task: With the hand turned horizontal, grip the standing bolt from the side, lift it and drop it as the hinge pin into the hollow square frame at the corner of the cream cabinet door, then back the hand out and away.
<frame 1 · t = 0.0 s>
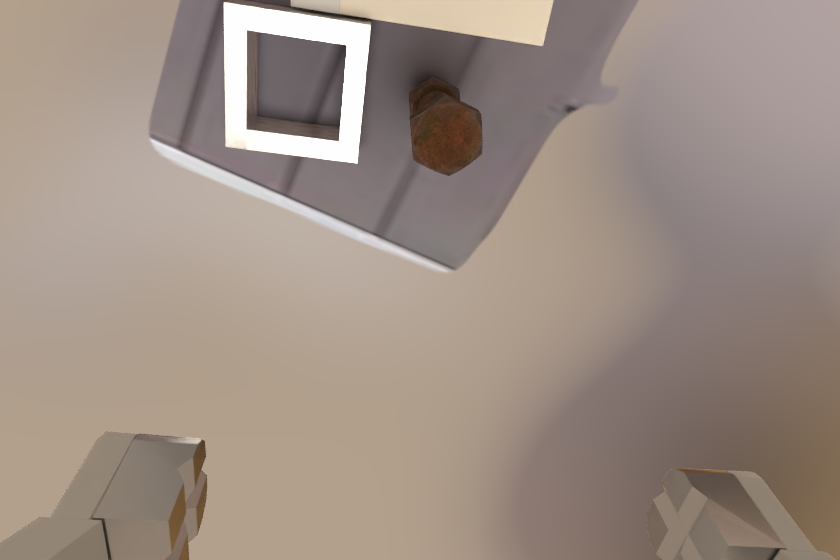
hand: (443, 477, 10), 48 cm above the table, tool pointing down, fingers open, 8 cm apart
hollow square frame: (302, 78, 52), on the table
bolt: (430, 96, 54), on the table
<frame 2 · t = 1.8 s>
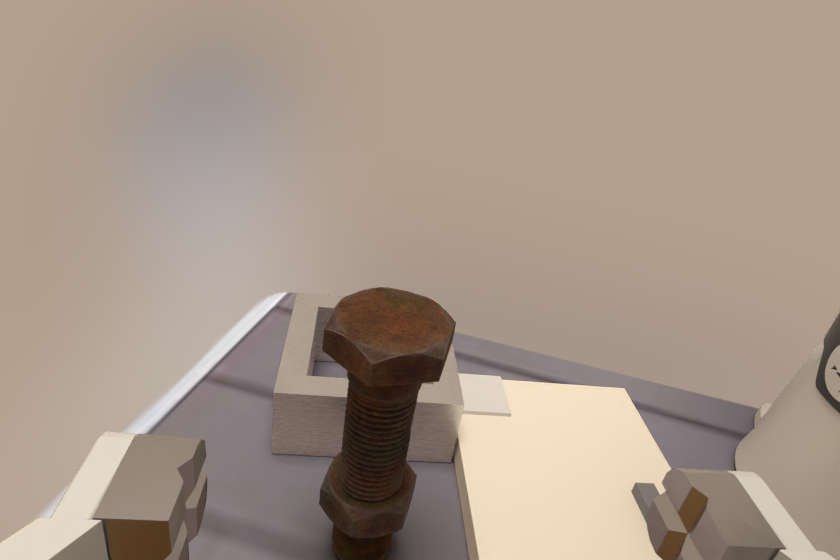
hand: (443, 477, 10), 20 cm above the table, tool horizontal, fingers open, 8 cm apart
hollow square frame: (364, 398, 41), on the table
cabinet door: (575, 522, 34), on the table
bolt: (360, 548, 31), on the table
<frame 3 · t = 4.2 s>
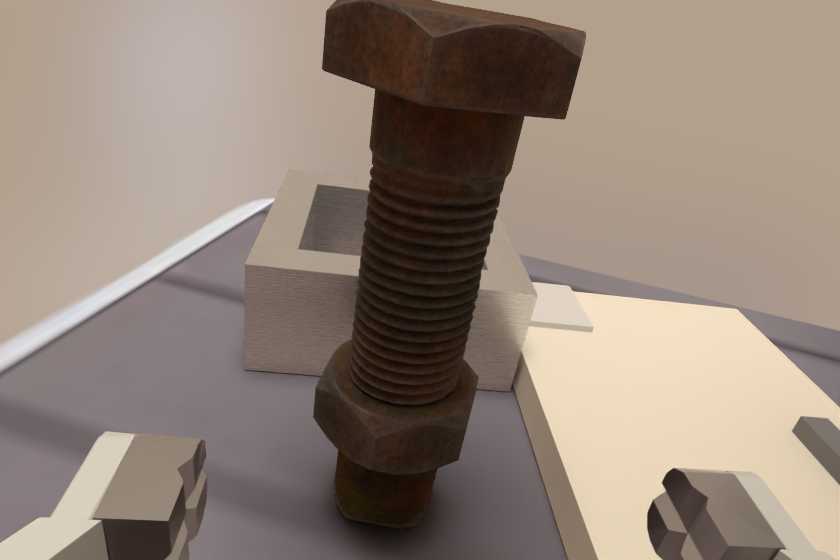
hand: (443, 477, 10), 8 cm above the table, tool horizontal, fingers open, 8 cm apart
hollow square frame: (380, 310, 29), on the table
cabinet door: (708, 477, 22), on the table
bolt: (379, 504, 19), on the table
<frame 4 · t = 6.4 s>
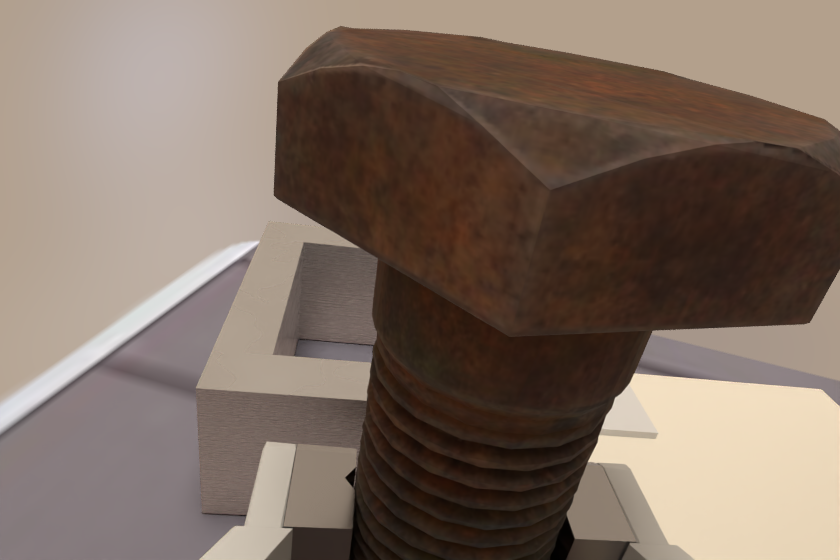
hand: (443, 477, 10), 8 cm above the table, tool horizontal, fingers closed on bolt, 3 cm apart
hollow square frame: (384, 402, 23), on the table
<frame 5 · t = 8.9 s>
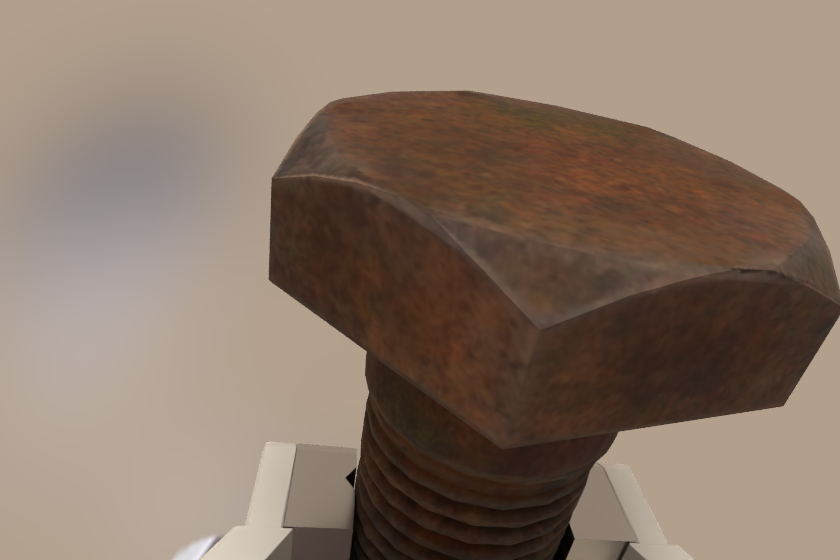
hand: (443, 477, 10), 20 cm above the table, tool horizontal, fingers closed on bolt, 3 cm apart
when the fingers open (9 cm above the table, at t = 11.5 s): bolt stays where it is, resting in hollow square frame.
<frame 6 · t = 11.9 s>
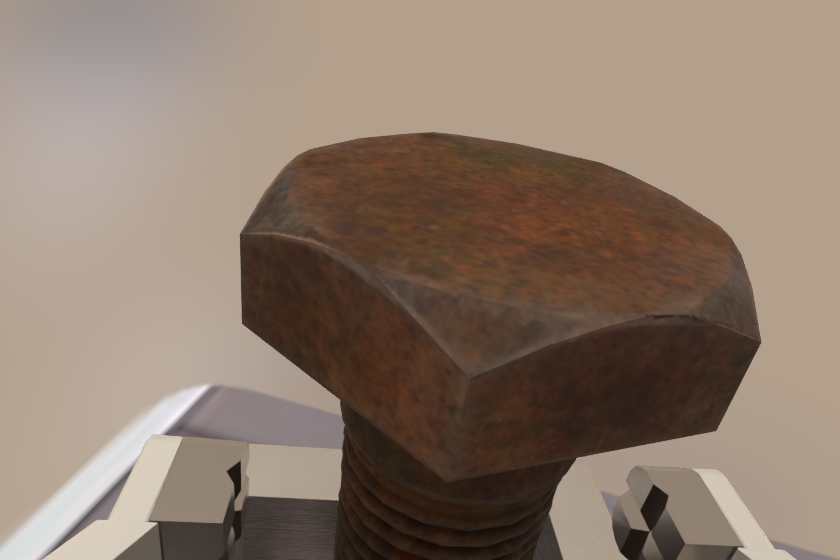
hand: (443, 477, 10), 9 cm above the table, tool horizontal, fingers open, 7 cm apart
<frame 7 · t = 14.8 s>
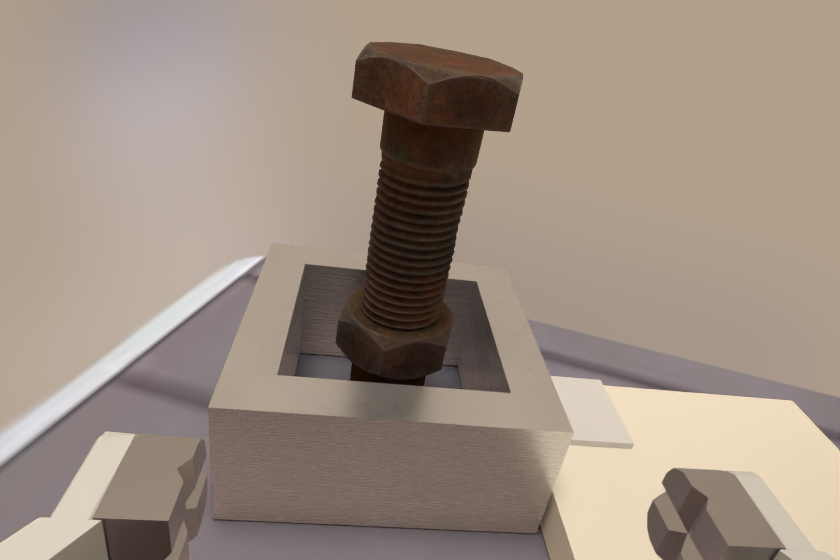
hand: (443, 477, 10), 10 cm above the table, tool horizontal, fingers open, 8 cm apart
hollow square frame: (380, 414, 25), on the table
bolt: (381, 414, 25), resting in hollow square frame
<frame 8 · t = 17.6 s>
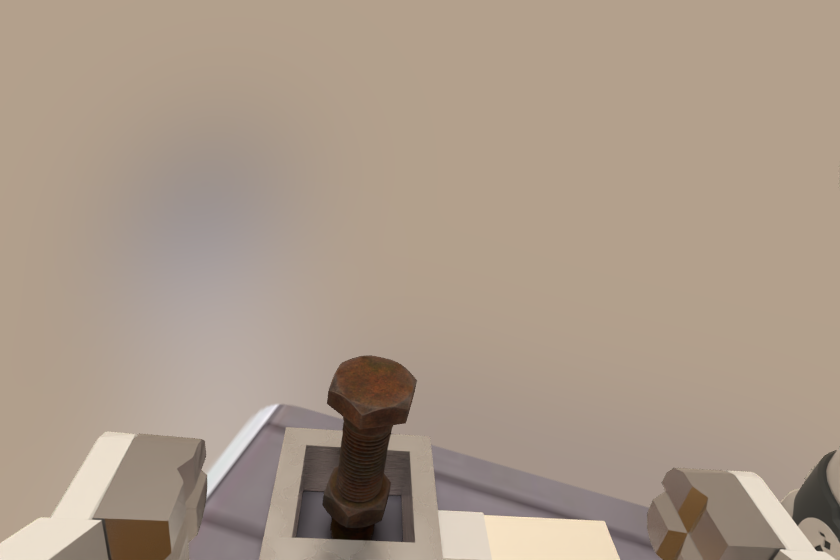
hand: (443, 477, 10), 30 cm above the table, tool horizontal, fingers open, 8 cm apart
hollow square frame: (350, 536, 42), on the table
bolt: (351, 535, 43), resting in hollow square frame
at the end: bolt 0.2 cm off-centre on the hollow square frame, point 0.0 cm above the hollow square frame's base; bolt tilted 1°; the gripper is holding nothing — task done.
